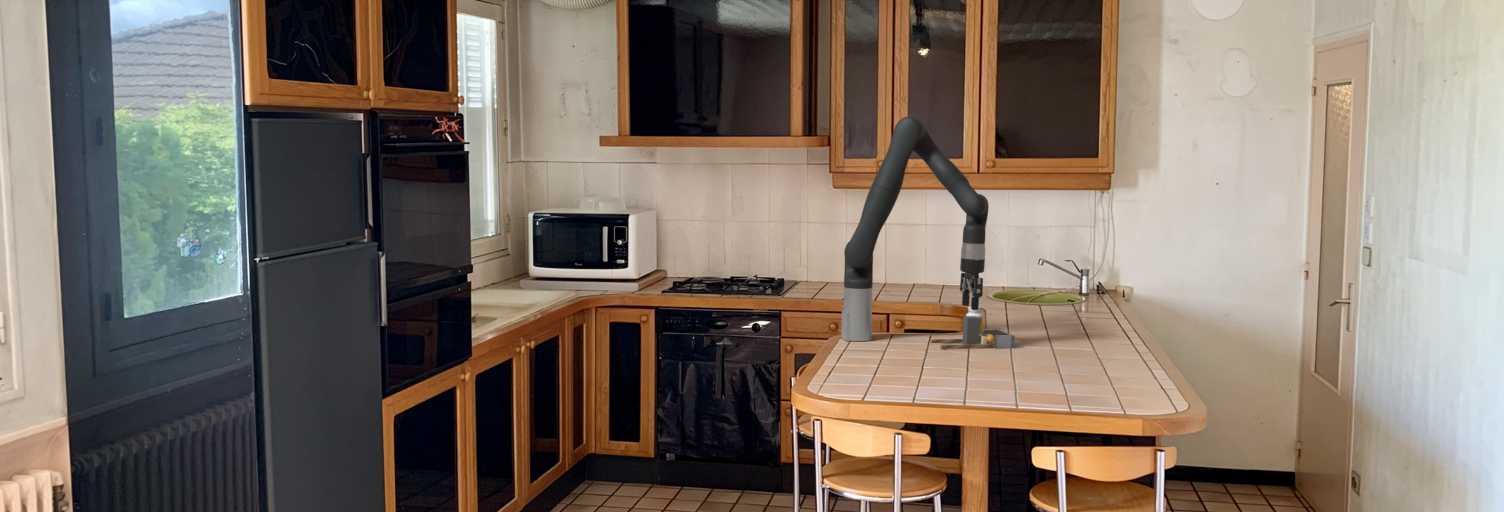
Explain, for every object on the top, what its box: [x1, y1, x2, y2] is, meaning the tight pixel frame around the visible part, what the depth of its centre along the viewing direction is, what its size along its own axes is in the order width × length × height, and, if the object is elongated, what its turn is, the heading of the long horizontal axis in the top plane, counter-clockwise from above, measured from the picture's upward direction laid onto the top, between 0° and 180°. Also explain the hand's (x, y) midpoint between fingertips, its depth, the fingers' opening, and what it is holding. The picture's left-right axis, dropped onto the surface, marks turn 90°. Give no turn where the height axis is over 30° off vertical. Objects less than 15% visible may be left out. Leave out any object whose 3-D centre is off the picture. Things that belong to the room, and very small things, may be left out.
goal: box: [982, 328, 1016, 350], centre depth 371 cm, size 6×13×4 cm, turn 9°
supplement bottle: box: [965, 305, 983, 335], centre depth 388 cm, size 5×5×10 cm
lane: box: [929, 338, 995, 350], centre depth 369 cm, size 17×11×1 cm, turn 99°
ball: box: [985, 334, 995, 344], centre depth 371 cm, size 4×4×4 cm
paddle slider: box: [962, 315, 987, 344], centre depth 370 cm, size 6×7×9 cm
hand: (970, 307), depth 368 cm, fingers open, 8 cm apart
